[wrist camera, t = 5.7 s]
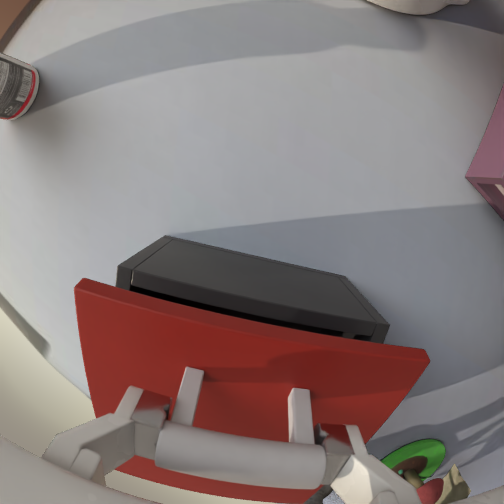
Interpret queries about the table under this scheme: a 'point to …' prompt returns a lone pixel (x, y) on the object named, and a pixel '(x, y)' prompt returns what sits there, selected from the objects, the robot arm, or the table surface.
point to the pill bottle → (16, 87)
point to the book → (491, 161)
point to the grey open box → (251, 289)
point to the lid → (235, 391)
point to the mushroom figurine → (427, 472)
